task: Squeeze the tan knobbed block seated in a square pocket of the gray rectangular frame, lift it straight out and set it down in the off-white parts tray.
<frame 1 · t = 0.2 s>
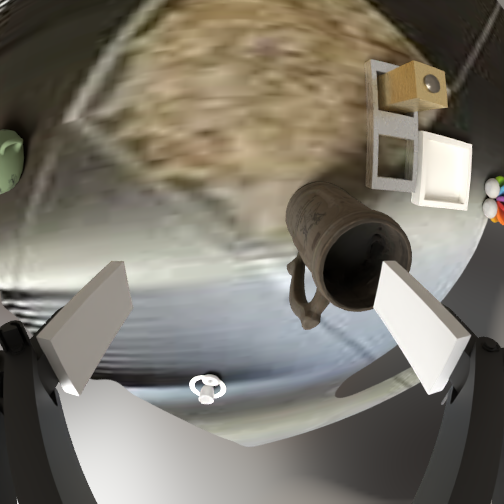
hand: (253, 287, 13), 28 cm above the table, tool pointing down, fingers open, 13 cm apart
tan knobbed block: (388, 96, 33), resting in gray rectangular frame
parts tray: (439, 171, 37), on the table
white valve handwheel: (221, 384, 54), on the table
green dome pot: (14, 156, 35), on the table
gray rectangular frame: (389, 126, 35), on the table
rainbow petal fan toy: (491, 197, 38), on the table
beer stein: (312, 229, 41), on the table
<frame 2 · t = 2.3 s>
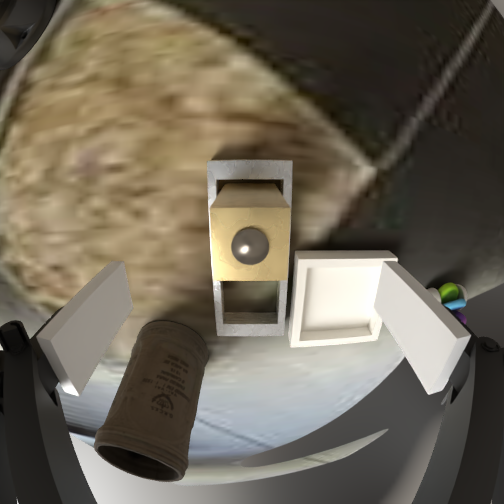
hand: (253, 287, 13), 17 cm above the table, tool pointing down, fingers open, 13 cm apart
tan knobbed block: (249, 206, 29), resting in gray rectangular frame
parts tray: (338, 295, 33), on the table
gray rectangular frame: (250, 250, 31), on the table
rainbow petal fan toy: (433, 304, 34), on the table
beer stein: (169, 358, 37), on the table
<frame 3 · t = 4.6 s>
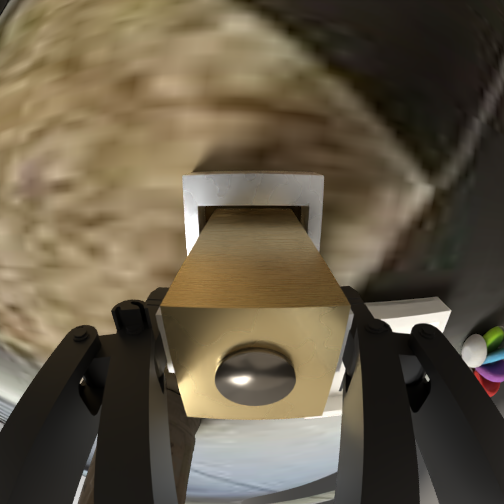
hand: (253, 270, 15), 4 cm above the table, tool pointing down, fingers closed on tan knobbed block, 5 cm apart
tan knobbed block: (253, 244, 19), resting in gray rectangular frame, touching gripper
parts tray: (369, 355, 23), on the table
gray rectangular frame: (253, 306, 21), on the table
rainbow petal fan toy: (472, 348, 24), on the table
beer stein: (153, 417, 27), on the table
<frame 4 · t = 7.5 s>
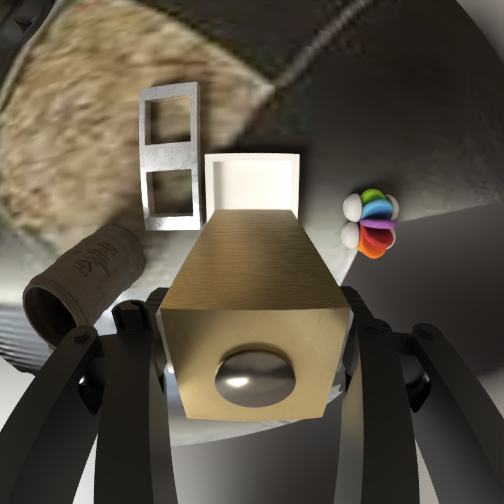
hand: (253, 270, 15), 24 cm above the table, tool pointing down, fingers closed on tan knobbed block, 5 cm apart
tan knobbed block: (253, 245, 19), point 20 cm above the table, touching gripper
parts tray: (252, 196, 37), on the table
gray rectangular frame: (172, 156, 35), on the table
rainbow petal fan toy: (364, 218, 39), on the table
beer stein: (114, 267, 42), on the table
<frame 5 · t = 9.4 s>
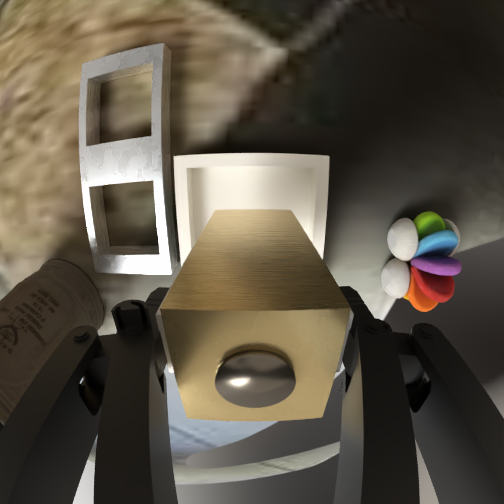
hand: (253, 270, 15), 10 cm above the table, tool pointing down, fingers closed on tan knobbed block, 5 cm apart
tan knobbed block: (253, 245, 19), point 6 cm above the table, touching gripper
parts tray: (251, 221, 24), on the table
gray rectangular frame: (129, 160, 22), on the table
rainbow petal fan toy: (411, 250, 26), on the table
beer stein: (69, 311, 28), on the table
when the fingers open (6 cm above the table, at t = 10.9 s): tan knobbed block stays where it is, resting on parts tray.
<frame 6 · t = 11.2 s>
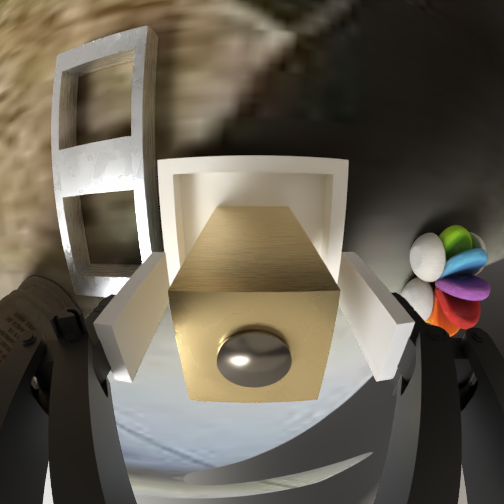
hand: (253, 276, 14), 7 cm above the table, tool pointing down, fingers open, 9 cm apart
tan knobbed block: (252, 240, 20), point 1 cm above the table, touching parts tray
parts tray: (253, 237, 20), on the table
gray rectangular frame: (109, 165, 18), on the table
rainbow petal fan toy: (433, 267, 22), on the table
beer stein: (54, 331, 24), on the table
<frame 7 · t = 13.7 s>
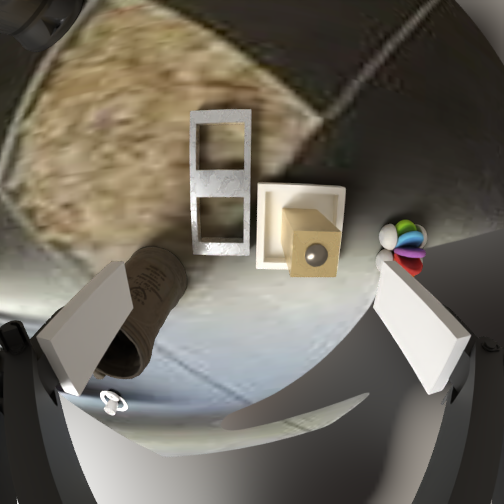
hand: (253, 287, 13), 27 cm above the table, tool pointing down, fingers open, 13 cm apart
tan knobbed block: (298, 225, 39), point 1 cm above the table, touching parts tray
parts tray: (298, 224, 40), on the table
white valve handwheel: (124, 400, 56), on the table
gray rectangular frame: (221, 181, 38), on the table
rainbow petal fan toy: (395, 244, 41), on the table
beer stein: (153, 287, 44), on the table
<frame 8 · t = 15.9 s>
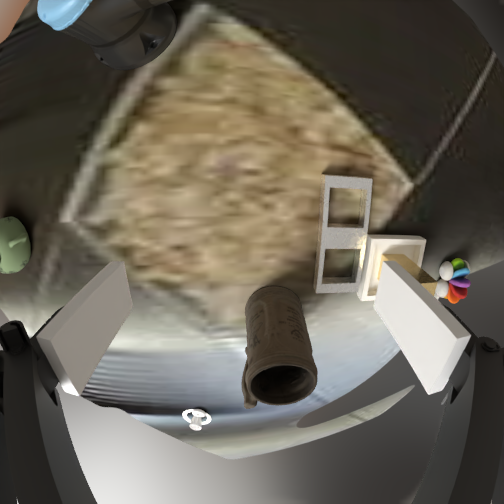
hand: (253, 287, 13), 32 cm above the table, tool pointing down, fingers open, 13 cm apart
tan knobbed block: (390, 266, 47), point 1 cm above the table, touching parts tray
parts tray: (389, 265, 47), on the table
white valve handwheel: (207, 415, 64), on the table
green dome pot: (21, 238, 45), on the table
gray rectangular frame: (340, 233, 45), on the table
rainbow petal fan toy: (447, 274, 49), on the table
beer stein: (268, 318, 51), on the table
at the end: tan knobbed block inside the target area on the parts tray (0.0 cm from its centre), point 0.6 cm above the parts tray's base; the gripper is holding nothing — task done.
